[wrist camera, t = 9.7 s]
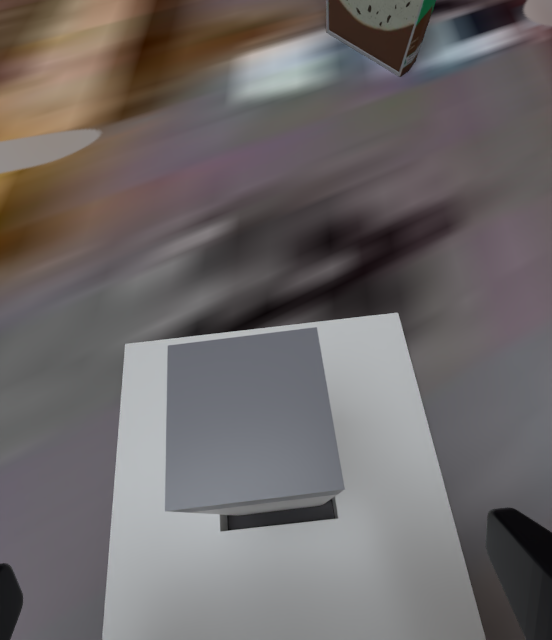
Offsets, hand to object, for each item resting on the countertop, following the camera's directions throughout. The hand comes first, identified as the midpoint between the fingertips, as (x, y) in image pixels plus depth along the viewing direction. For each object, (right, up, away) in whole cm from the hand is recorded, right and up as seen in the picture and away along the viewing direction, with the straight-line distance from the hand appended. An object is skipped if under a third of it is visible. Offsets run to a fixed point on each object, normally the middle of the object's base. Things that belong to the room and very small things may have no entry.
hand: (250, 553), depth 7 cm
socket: (+1, -5, +12) cm, 13 cm away
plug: (0, -3, +13) cm, 13 cm away
